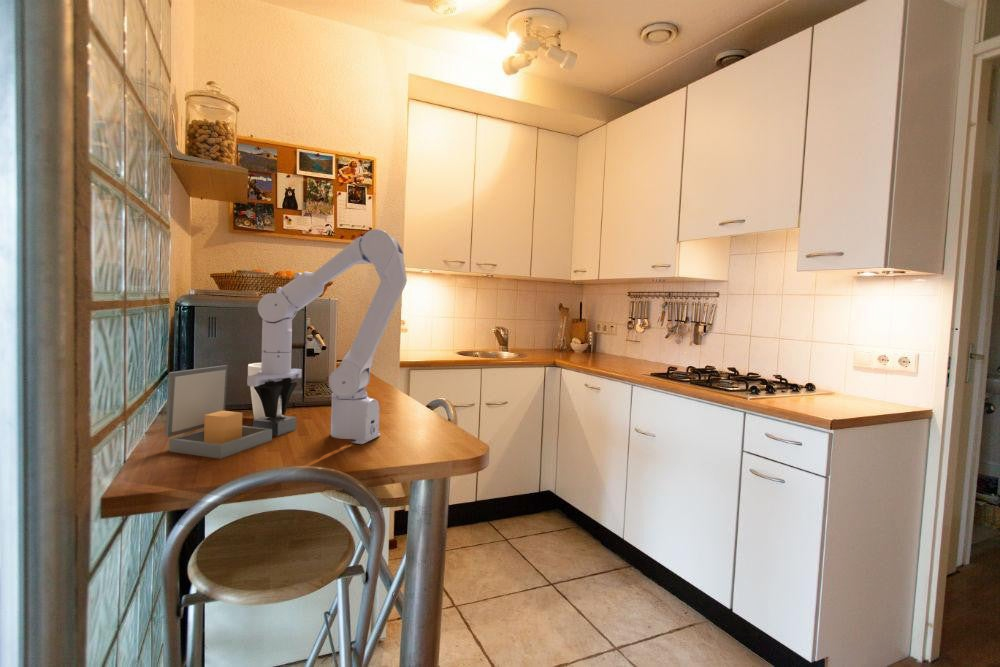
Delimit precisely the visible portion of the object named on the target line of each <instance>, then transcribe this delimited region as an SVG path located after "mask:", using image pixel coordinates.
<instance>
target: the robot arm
mask: <svg viewBox="0 0 1000 667" xmlns="http://www.w3.org/2000/svg"><path fill="white" fill-rule="evenodd" d="M404 255H405V253H404V251H403V249H402V247H401V245H400V243H399V242H398V240H397V239H396V238H395V237H393V236H391V235H389V233H388V232H386V231H385V230H383V229H379V228H373V229H369V230H368V231H366V232H365V233H364V234H363V236H362V235H360V236H358V237H357V238H355V239H353V241H351V242H350V243H349V244H348V245H347V246H345V247H344V248H343V249H341V251H339V252H338V253H337V254H335V255H334V256H333V257H331V258H330V259H329V260H328V261H326V262H325V263H324V264H323V265H322V266H320V267H319V268H318V269H317V270H315V271H314V272H310V271H307V270H305V271H303V272H296V273H295V274H294V275H293V277H294V279H291V281H289V282H288V283H286V284H285V285H284V286H282V287H281V286H278V287H277V288H276V289H275V291H276V293H275V292H274V293H273V292H271V293H266V294H264V295H263V297H262V298H261V299H260V300H259V301H258V303H257V312H258V315H259V316H260V317H261V319H262V323H261V324H262V325H261V326H262V328H261V363H262V364H261V371H258V373H257V374H255V375H251V376H248V375H247V379H246V383H247V387H250V386H254V389H255V390H256V392H257V393H258V395H259V397H260V399H261V402H262V405H263V409H264V413H265V417H270V418H275V417H276V415H277V407H278V400H279V396H280V394H282V415H283V416H286V413H287V408H288V405H289V401H290V399H291V396H292V394H293V392H294V390H295V389H296V387H297V385H298V381H297V380H292V379H301V378H303V376H302V372H303V371H302V370H303V369H301V368H292V346H293V345H292V344H293V343H292V340H293V339H292V338H293V319H294V318H295V317H296V315H297V314H298V311H301V310H302V309H303V308H305V307H306V306H307V305H308V304H310V303H312V302H313V301H314V300H316V299H318V297H320V296H321V295H323V293H324V289H325V285H326V284H329V282H331V281H333V280H334V279H336V278H338V276H341V274H344V273H345V272H346V271H348V270H350V269H351V268H352V267H354V266H356V265H366V264H367V265H368V264H372V265H373V266H374V269H375V271H376V274H377V276H378V277H379V279H380V281H379V284H378V286H377V287H376V288H377V289H376V291H375V293H374V296H373V297H372V300H371V302H370V304H369V307H368V308H367V311H366V313H365V315H364V317H363V320H362V322H361V324H360V327H359V329H358V331H357V333H356V336H355V337H354V339H353V341H352V344H351V347H350V349H349V351H348V352H347V353H346V354H345V356H344V357H343V358H342V359H341V362H340V365H339V366H338V367H337V368H336V369H334V370H333V371H332V372H331V374H330V375H329V378H328V386H329V387H328V388H329V389H330V391H331V392H332V393H331V413H330V415H331V416H330V420H331V421H330V436H331V437H332V438H335V439H340V440H341V439H343V440H344V439H345V440H352V441H350V442H349V444H355V445H357V444H358V445H364V444H366V443H368V442H370V441H372V440H374V439H377V438H378V437H380V436H381V433H380V430H379V429H380V404H379V401H378V400H377V399H376V398H371V397H369V396H368V392H367V390H366V387H367V386H368V385H369V383H370V380H371V367H372V365H373V360H374V356H375V354H376V351H377V349H378V347H379V344H380V342H381V340H382V338H383V336H384V333H385V331H386V329H387V327H388V324H389V322H390V321H391V317H392V315H393V313H394V311H395V309H396V307H397V305H398V302H399V300H400V298H401V295H402V293H403V292H404V289H405V287H406V285H407V280H408V279H407V272H406V265H405V258H404Z"/></svg>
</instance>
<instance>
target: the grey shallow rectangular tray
mask: <svg viewBox="0 0 1000 667" xmlns="http://www.w3.org/2000/svg"><path fill="white" fill-rule="evenodd" d="M168 441H169V442H168V444H169V445H168V452H170V453H177V454H184V455H186V454H187V455H191V456H192V455H193V456H199V457H206V458H212V459H213V458H214V459H221V460H222V459H224V458H226V457H228V456H229V457H230V456H232V455H235V454H237V453H240V452H243V451H246V450H249V449H252V448H254V447H258V446H260V445H263V444H266V443H268V442H272V441H273V436H272V429H267V428H258V427H253V426H250V425H249V426H248V425H242V437H241V438H238V439H235V440H232V441H229V442H226V443H223V444H216V443H208V442H204V429H201V430H198V431H192V432H191V433H190V432H189V433H186V434H183V435H182V434H181V435H178V436H175V437H173V438H172V437H171V438H168Z"/></svg>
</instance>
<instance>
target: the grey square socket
mask: <svg viewBox="0 0 1000 667" xmlns="http://www.w3.org/2000/svg"><path fill="white" fill-rule="evenodd" d="M252 427H258V428H267V429H272V437H273V436H274V437H280V436H283V435H286V434H288V433H291V432H293V431H296V430H297V416H291V415H283V416H282V420H278V421H272V420H269V417H262V418H259V419H253V420H252Z"/></svg>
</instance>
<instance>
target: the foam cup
mask: <svg viewBox="0 0 1000 667" xmlns="http://www.w3.org/2000/svg"><path fill="white" fill-rule="evenodd" d="M261 364H262V362H253V363H248V365H247V376H251V375H255V374H257V373H258V371H261ZM249 389H250V397H251V404H252V413H253V420H255V419H259V418H262V417H265V413H264V409H263V405H262V402H261V399H260V397H259V395H258V393H257V392H256V390H255V389H254V386H249ZM282 416H284V415H282Z"/></svg>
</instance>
